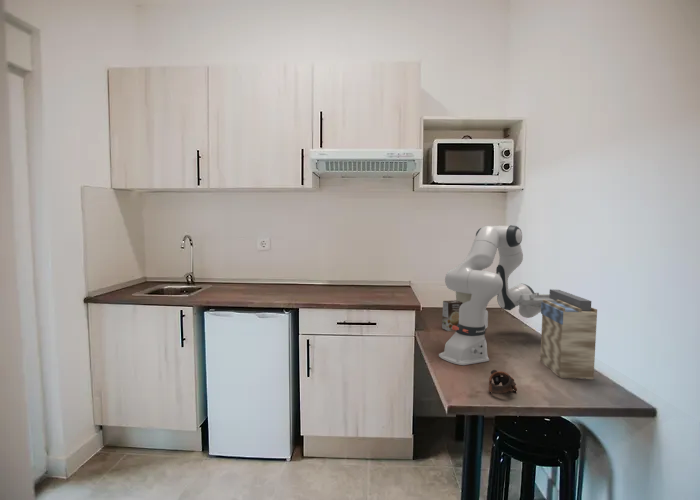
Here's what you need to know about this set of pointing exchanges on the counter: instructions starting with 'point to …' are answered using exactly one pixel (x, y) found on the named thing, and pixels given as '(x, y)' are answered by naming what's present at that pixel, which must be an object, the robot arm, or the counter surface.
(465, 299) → the canister
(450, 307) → the coffee box
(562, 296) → the dark gray block
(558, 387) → the counter surface
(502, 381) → the pottery mug
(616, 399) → the counter surface
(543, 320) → the duct stand
